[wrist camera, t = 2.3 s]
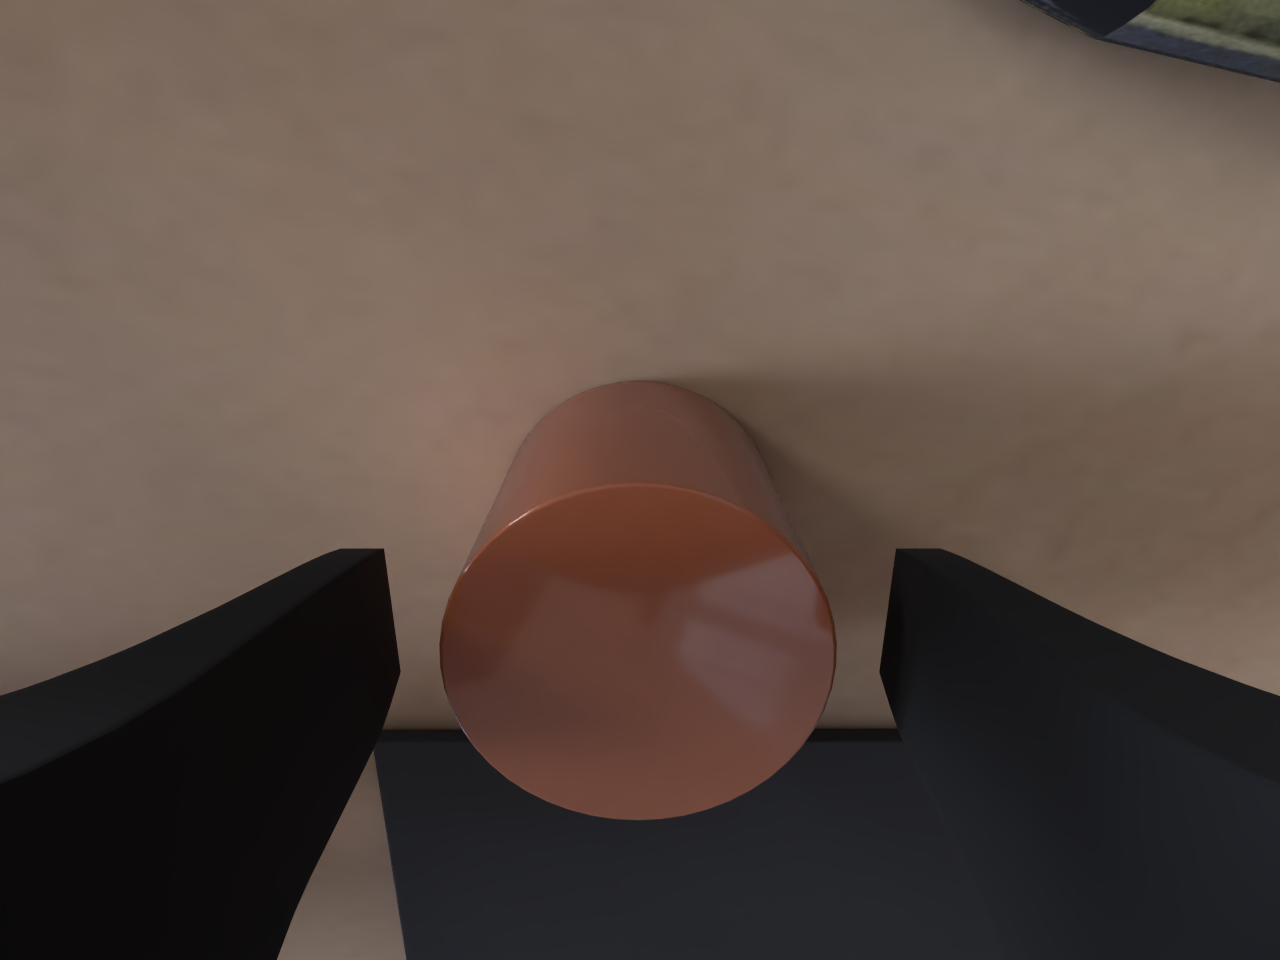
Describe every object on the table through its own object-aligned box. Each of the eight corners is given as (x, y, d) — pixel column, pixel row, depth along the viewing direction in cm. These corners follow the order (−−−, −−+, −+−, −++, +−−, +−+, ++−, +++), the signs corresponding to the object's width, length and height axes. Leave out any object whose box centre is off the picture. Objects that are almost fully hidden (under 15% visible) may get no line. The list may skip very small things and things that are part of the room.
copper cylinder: (513, 626, 15) (456, 823, 10) (495, 380, 13) (418, 483, 9) (763, 626, 15) (820, 821, 10) (780, 380, 13) (857, 482, 9)
